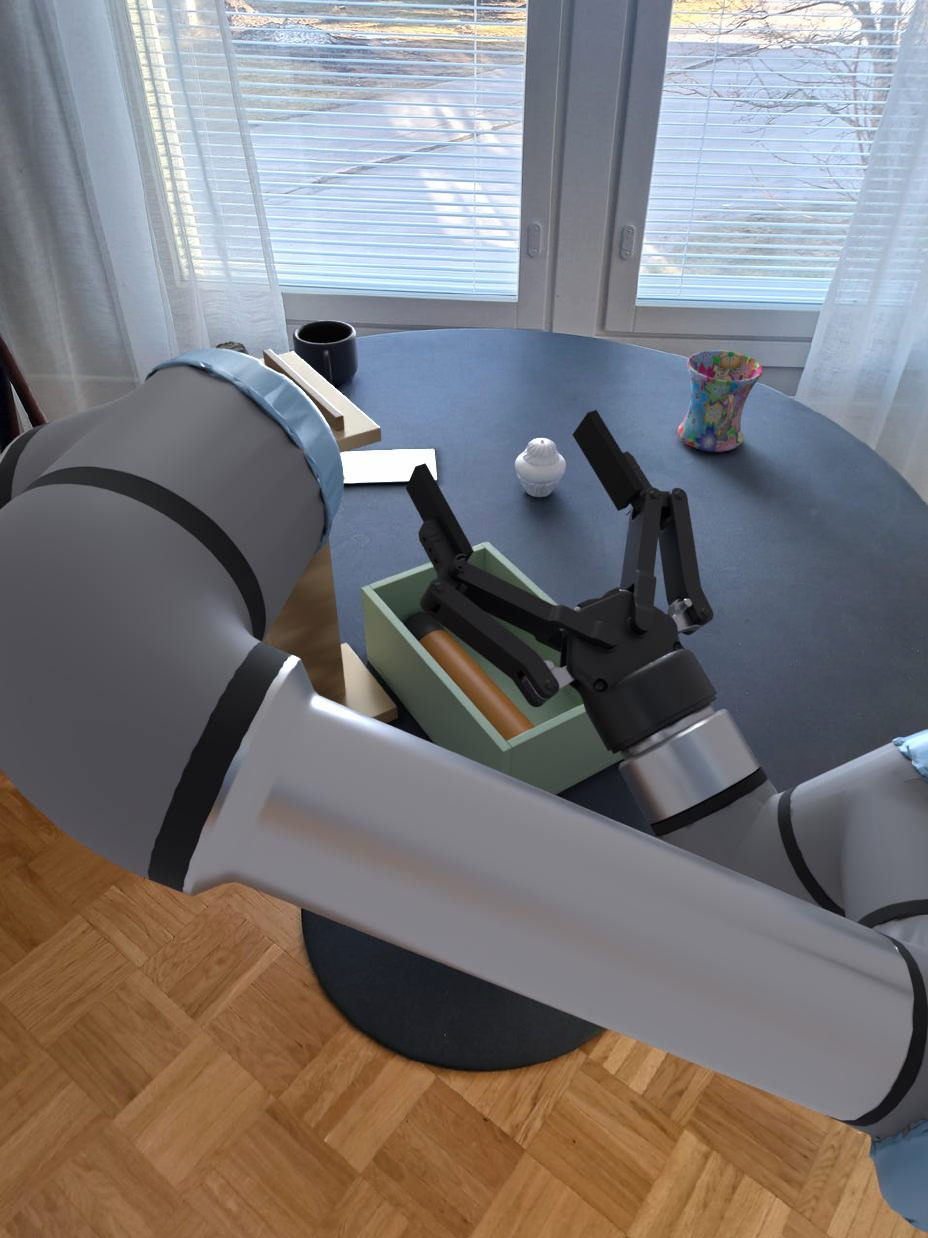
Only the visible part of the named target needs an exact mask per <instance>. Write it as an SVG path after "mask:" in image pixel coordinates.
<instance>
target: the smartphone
mask: <svg viewBox="0 0 928 1238" xmlns="http://www.w3.org/2000/svg"><path fill="white" fill-rule="evenodd" d="M340 454H341V459H342V464H343V471H344V486H353V485H385V484H408V482H409V479H410V477H411V475H412V472H413V470H414V468H415V466H418V465H421V464H424V463H426V464H427V466H428V468H429V470H430V472H431V474H432V475H433V477H434V479H435V481H436V483H437V481H438V477H437V476H438V474H437V463H436V455H435V449H434V448H430V449H429V448H427V449H426V448H425V449H423V448H422V449H392V450H358V451H357V450H355V451H353V450H352V451H345V452H342V453H340Z"/></svg>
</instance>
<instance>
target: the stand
mask: <svg viewBox="0 0 928 1238" xmlns="http://www.w3.org/2000/svg"><path fill="white" fill-rule="evenodd" d="M262 355H263V357H262V358H257V359H258V360H260V361H261V362H262V363H263V365H264V366H266V367H268V368H270V369H272V370H274V371H276V372H277V373H281V374H284V375H285V376H286V377H287V378H289V379H290V380H291V381H292V382H294V383H295V384H296V385H297V386H298V387H299V388H300V389H301V390H302V391H303V392H304V393H305V394H306V395H307V396H308V397H309V398H310V399H311V400H312V402H313V403H314V404H315V405H316V407H317V408H318V410H319V411H320V412H321V414H322V415H323V417H324V418H325V420H326V422H327V423H328V425H329V427H330V429H331V431H332V433H333V435H334V437H335V440H336V442H337V445H338V448H339V451H340V453H342V452H350V451H353V450H355V449H359V448H362V447H366V446H369V445H372V444H377V443H380V442H382V429H381V427H380V426H379V425H378V424H377V423H376V422H374V420H372V419H371V418H370V417H369V416H368V415H366V414H365V413H364V412H363V411H362V409H361V410H360V408H359V407H357V406H356V405H355V404H354V403H353V402H351V400H350V399H348V398H347V397H346V396H345V395H343V394H342V392H340V391H339V390H338V389H337V388H335V386H332V385H331V384H330V383H329V382H327V381H326V380H325V379H324V378H323V377H322V376H320V375H319V374H318V373H317V372H316V371H315V370H314V369H312V368H311V367H310V366H309V365H308V364H307V363H306V362H304V361H303V360H302V359H301V358H300V357H299V356H298V355H296V354H295V351H293V350H291V351H288V352H287V351H286V352H284V353H279V354H276V353H275V352H274V351H273V350H272V349H271V348H268V349H263V350H262ZM332 563H333V562H332V555H331V545H330V536H329V537H328V540H327V542H326V543H325V545H324V546H323V548H322V549H321V550H320V551H319V552H318V553H317V554H316V555H314V556H313V557H312V558H311V560H310V561H309V563H308V565H307V567H306V568H305V570H304V572H303V573H302V575H301V577H300V579H299V580H298V582H297V584H296V586H295V587H294V589H293V591H292V592H291V594H290V596H289V598H288V599H287V601H286V603H285V605H284V606H283V608H282V610H281V612H280V613H279V615H278V617H277V618H276V620H275V622H274V624H273V625H272V627H271V629H270V631H269V632H268V634H267V636H266V638H265V639H264V641H263V643H265V644H267V645H269V646H272V647H274V648H277V649H279V650H281V651H284V652H286V653H288V654H291V655H293V656H295V657H298V658H300V659H301V661H302V663H303V665H304V668H305V670H306V672H307V675H308V677H309V679H310V682H311V684H312V686H313V689H314V690H315V692H316V693H317V694H318V695H319V696H322V697H324V698H326V699H329V700H331V701H333V702H336V703H338V704H341V705H343V706H345V707H348V708H350V709H352V710H355V711H357V712H359V713H362V714H364V715H367V716H369V717H371V718H374V719H376V720H378V721H381V722H383V723H385V724H388V723H390V722H392V721H394V720H397V719H398V718H399V716H398V715H399V714H398V706H397V704H396V703H395V701H393V700H392V698H391V697H390V696H389V695H388V693H387V692H386V691H385V689H384V688H383V687H382V685H380V683H379V682H378V680H377V679H376V678H375V676H373V674H372V673H371V671H370V670H369V669H368V668H367V667H366V665H365V664H364V663H363V662H362V660H361V658H359V656H358V655H357V654H356V653H355V651H354V650H353V649H352V647H351V646H350V645H349V644H348V643H347V642H344V643H341V634H340V633H341V632H340V626H339V617H338V615H339V614H338V608H337V607H338V606H337V599H336V589H335V579H334V572H333V564H332Z"/></svg>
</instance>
